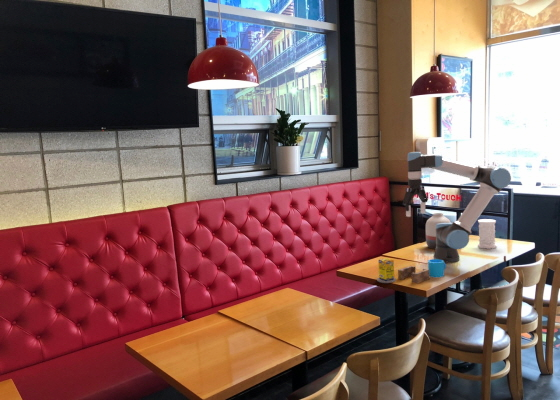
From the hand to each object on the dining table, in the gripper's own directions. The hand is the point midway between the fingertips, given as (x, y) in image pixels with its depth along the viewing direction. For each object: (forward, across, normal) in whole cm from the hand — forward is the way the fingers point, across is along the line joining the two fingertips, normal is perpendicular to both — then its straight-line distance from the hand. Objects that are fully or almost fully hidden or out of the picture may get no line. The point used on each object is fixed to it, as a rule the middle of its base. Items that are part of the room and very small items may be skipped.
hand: (415, 214), depth 259 cm
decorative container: (+32, -71, +3) cm, 78 cm away
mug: (+32, +4, +17) cm, 36 cm away
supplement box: (+31, +31, +3) cm, 44 cm away
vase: (+32, -50, -20) cm, 63 cm away
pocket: (+32, +19, +12) cm, 39 cm away
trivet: (+32, +31, +3) cm, 44 cm away
